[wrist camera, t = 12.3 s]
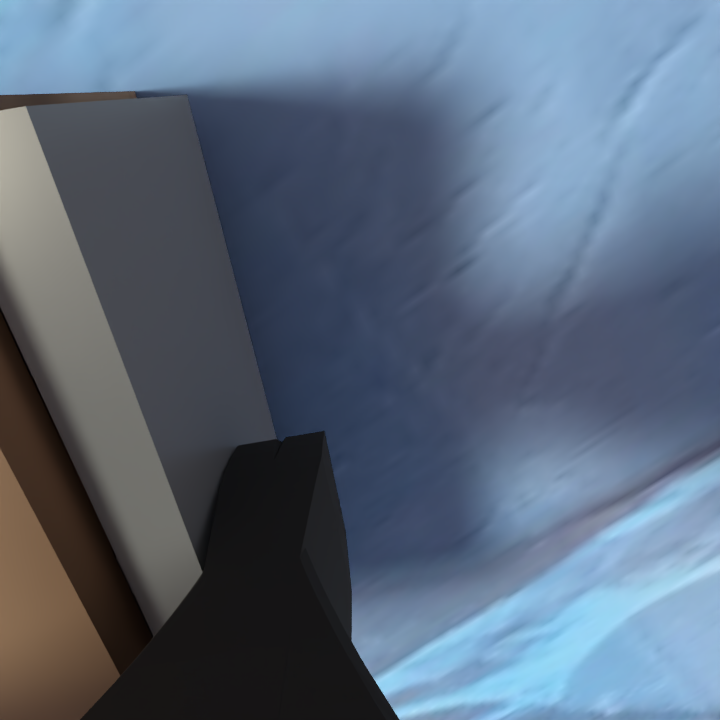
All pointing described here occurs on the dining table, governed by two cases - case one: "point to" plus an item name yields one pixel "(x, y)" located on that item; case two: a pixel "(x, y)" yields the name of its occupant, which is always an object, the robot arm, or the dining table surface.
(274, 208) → the dining table surface
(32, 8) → the dining table surface
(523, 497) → the dining table surface
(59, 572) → the housing
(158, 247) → the grey drawer
